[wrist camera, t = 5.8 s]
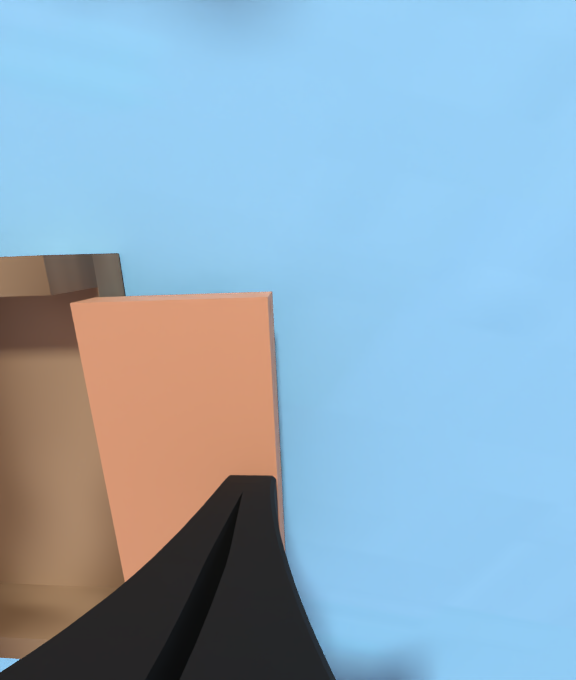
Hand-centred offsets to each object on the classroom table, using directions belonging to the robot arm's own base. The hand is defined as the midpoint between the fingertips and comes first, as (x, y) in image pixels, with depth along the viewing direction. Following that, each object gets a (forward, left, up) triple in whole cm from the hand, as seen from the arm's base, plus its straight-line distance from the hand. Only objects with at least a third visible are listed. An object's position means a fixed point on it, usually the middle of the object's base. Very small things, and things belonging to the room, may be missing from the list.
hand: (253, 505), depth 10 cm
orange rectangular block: (-5, +2, -2) cm, 5 cm away
